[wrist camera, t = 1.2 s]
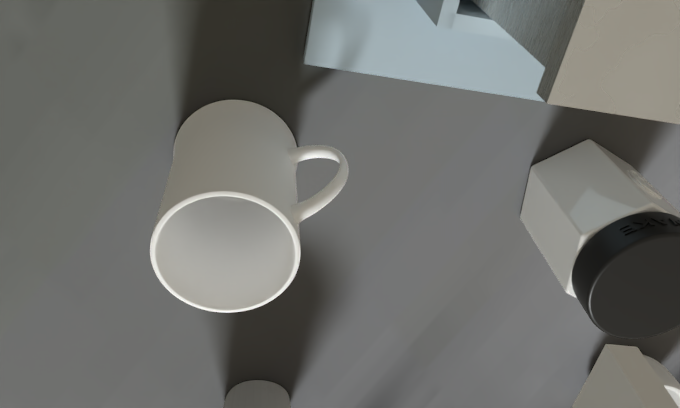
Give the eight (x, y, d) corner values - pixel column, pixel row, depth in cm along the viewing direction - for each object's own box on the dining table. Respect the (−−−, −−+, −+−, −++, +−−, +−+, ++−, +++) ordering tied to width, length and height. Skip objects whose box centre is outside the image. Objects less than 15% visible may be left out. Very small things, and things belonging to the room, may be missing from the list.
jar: (652, 175, 49) (753, 270, 39) (579, 252, 52) (654, 359, 42) (567, 120, 46) (653, 207, 36) (495, 206, 49) (555, 308, 39)
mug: (324, 70, 42) (340, 150, 32) (355, 178, 47) (378, 280, 36) (154, 118, 43) (117, 212, 33) (200, 221, 47) (181, 332, 37)
